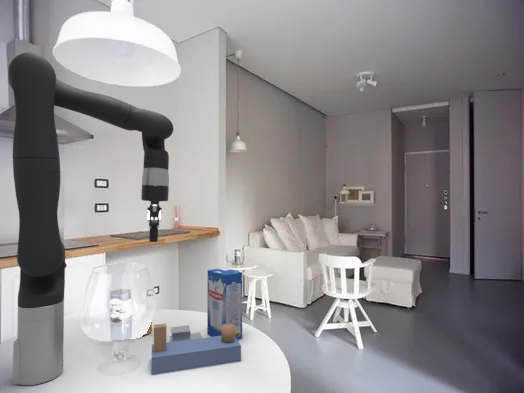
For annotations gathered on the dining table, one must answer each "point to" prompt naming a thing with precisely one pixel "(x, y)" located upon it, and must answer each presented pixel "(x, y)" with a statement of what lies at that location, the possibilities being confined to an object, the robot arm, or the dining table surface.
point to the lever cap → (183, 334)
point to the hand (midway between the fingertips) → (153, 240)
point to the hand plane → (193, 350)
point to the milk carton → (224, 301)
